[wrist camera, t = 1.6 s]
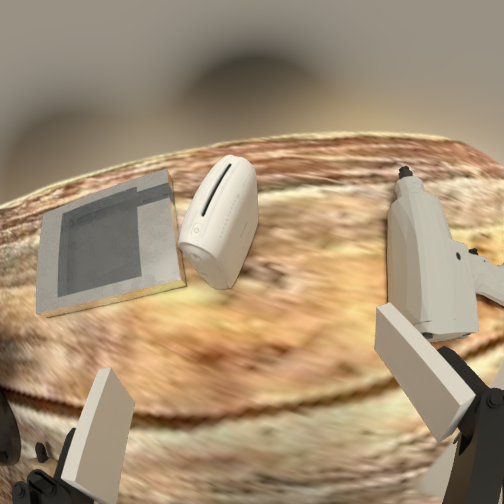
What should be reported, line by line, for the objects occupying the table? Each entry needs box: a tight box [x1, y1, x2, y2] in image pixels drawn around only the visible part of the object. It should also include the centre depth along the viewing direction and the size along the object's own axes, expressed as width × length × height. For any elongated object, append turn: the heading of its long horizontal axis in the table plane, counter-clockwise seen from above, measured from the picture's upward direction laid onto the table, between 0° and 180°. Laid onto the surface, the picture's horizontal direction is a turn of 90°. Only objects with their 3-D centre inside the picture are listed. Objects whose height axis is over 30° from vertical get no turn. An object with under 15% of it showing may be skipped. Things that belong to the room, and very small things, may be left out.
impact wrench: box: [387, 166, 504, 343], centre depth 29 cm, size 8×23×25 cm
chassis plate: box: [36, 169, 187, 318], centre depth 33 cm, size 22×16×2 cm
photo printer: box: [178, 155, 259, 290], centre depth 27 cm, size 10×4×12 cm, turn 160°
